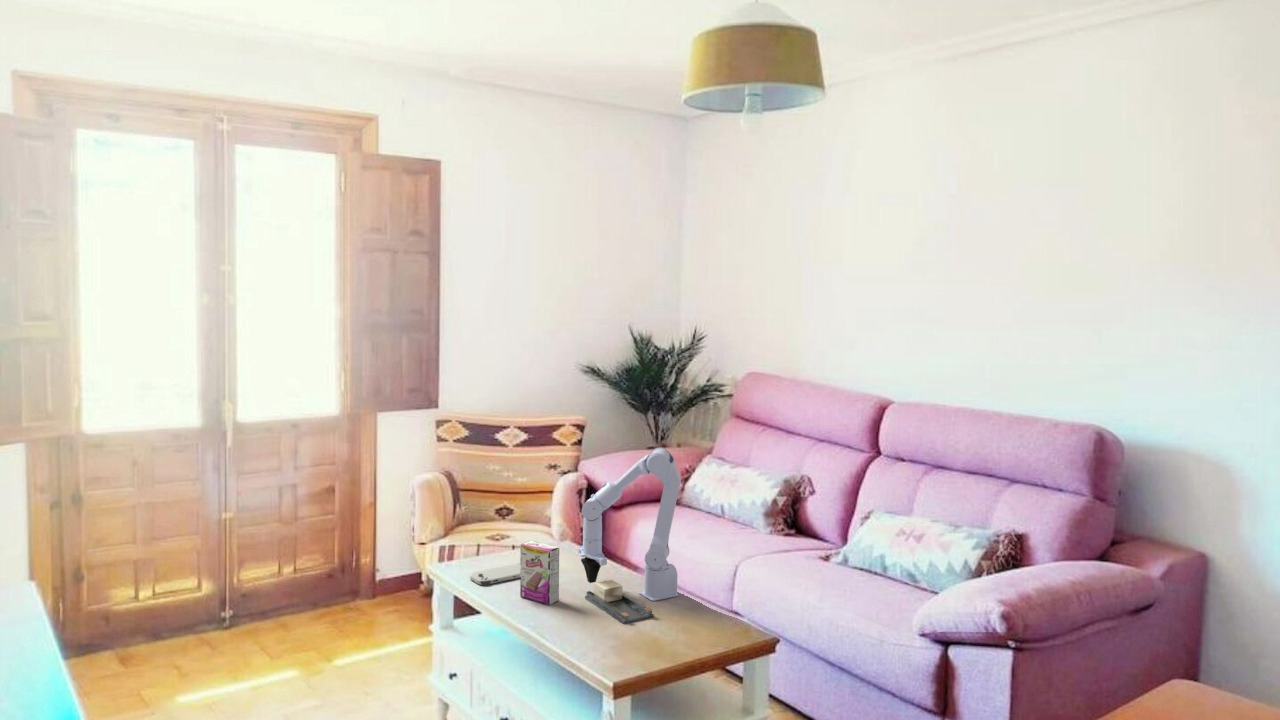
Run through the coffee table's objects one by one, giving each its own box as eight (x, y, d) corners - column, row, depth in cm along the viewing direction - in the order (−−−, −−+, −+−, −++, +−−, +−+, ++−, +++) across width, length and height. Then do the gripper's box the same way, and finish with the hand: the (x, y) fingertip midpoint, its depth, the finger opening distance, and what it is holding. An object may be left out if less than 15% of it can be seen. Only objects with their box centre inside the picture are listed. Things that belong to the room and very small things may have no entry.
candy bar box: (519, 598, 266) (519, 543, 264) (530, 593, 270) (530, 539, 268) (549, 606, 260) (549, 550, 258) (559, 600, 264) (560, 546, 263)
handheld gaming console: (531, 558, 296) (546, 566, 288) (531, 566, 296) (546, 574, 288) (466, 570, 282) (480, 579, 274) (466, 579, 282) (480, 588, 274)
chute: (614, 592, 272) (614, 585, 271) (653, 617, 253) (653, 609, 253) (585, 598, 266) (585, 591, 266) (623, 623, 248) (623, 615, 247)
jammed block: (611, 592, 269) (612, 579, 268) (622, 599, 264) (622, 585, 263) (594, 596, 266) (594, 583, 265) (604, 602, 260) (604, 589, 260)
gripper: (569, 533, 276) (569, 576, 277) (592, 546, 263) (591, 591, 265) (589, 530, 279) (589, 573, 281) (613, 543, 267) (612, 587, 268)
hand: (591, 581), depth 273 cm, fingers closed
